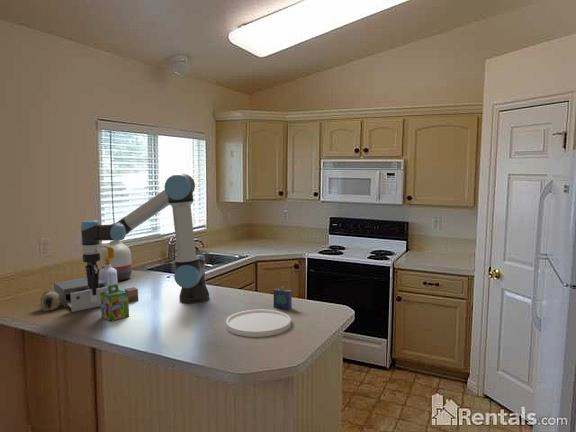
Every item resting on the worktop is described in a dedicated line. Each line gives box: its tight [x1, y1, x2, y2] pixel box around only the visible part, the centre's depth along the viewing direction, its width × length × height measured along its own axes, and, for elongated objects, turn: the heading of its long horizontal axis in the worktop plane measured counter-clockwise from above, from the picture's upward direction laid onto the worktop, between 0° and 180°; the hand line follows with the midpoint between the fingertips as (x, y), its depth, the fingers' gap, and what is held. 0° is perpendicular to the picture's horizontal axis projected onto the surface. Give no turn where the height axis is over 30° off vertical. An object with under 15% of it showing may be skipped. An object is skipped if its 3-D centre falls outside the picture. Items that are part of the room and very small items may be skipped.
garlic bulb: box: [39, 289, 61, 312], centre depth 212 cm, size 9×8×10 cm
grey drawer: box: [65, 285, 112, 313], centre depth 220 cm, size 18×19×9 cm
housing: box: [53, 276, 106, 308], centre depth 228 cm, size 18×20×9 cm
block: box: [124, 286, 139, 303], centre depth 225 cm, size 5×5×6 cm
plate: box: [225, 308, 292, 338], centre depth 189 cm, size 28×28×2 cm
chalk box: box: [100, 284, 130, 322], centre depth 200 cm, size 9×9×15 cm
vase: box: [100, 240, 133, 282], centre depth 269 cm, size 17×17×24 cm
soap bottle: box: [99, 246, 119, 290], centre depth 246 cm, size 9×9×25 cm
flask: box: [273, 286, 293, 310], centre depth 211 cm, size 9×3×11 cm, turn 68°
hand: (93, 301), depth 211 cm, fingers closed
